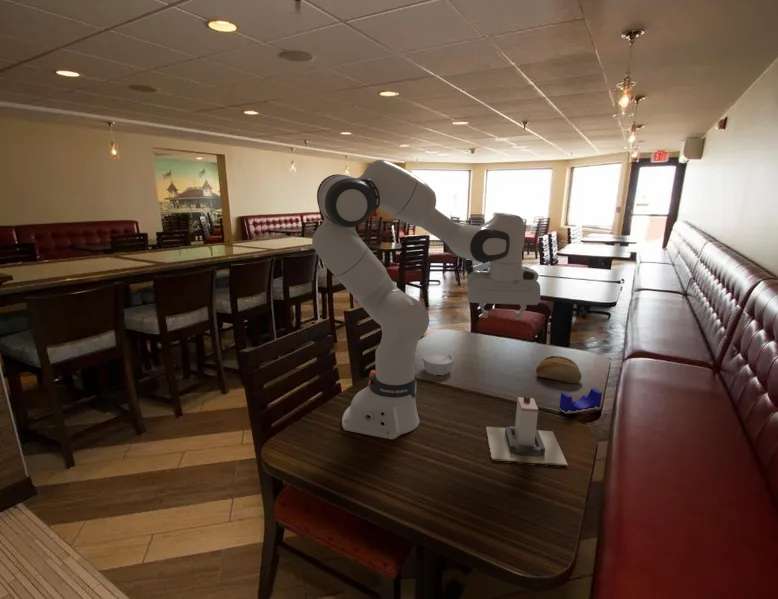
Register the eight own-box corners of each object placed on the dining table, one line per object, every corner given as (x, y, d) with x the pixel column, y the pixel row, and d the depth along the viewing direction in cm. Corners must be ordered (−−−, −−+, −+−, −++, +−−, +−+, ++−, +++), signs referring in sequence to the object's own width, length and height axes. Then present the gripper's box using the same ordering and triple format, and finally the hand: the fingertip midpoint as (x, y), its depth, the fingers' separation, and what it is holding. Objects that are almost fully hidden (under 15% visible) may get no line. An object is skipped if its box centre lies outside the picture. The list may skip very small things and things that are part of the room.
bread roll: (535, 370, 151) (537, 350, 149) (579, 376, 146) (581, 356, 144) (535, 381, 143) (537, 360, 141) (581, 388, 138) (584, 366, 136)
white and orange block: (517, 449, 103) (521, 404, 100) (514, 437, 109) (518, 393, 105) (533, 451, 103) (538, 405, 100) (529, 438, 108) (533, 394, 105)
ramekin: (454, 377, 146) (455, 364, 144) (423, 377, 146) (424, 363, 144) (450, 364, 156) (451, 352, 155) (421, 364, 157) (422, 351, 155)
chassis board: (491, 460, 100) (492, 451, 100) (485, 429, 114) (486, 420, 113) (567, 467, 98) (568, 457, 98) (552, 433, 112) (553, 424, 111)
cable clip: (589, 403, 128) (591, 385, 127) (599, 410, 124) (602, 392, 123) (556, 407, 126) (558, 390, 124) (565, 415, 121) (567, 397, 120)
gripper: (468, 272, 113) (466, 319, 117) (544, 274, 110) (539, 322, 114) (467, 268, 119) (464, 313, 123) (539, 270, 116) (534, 316, 120)
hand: (501, 317), depth 118 cm, fingers open, 8 cm apart
